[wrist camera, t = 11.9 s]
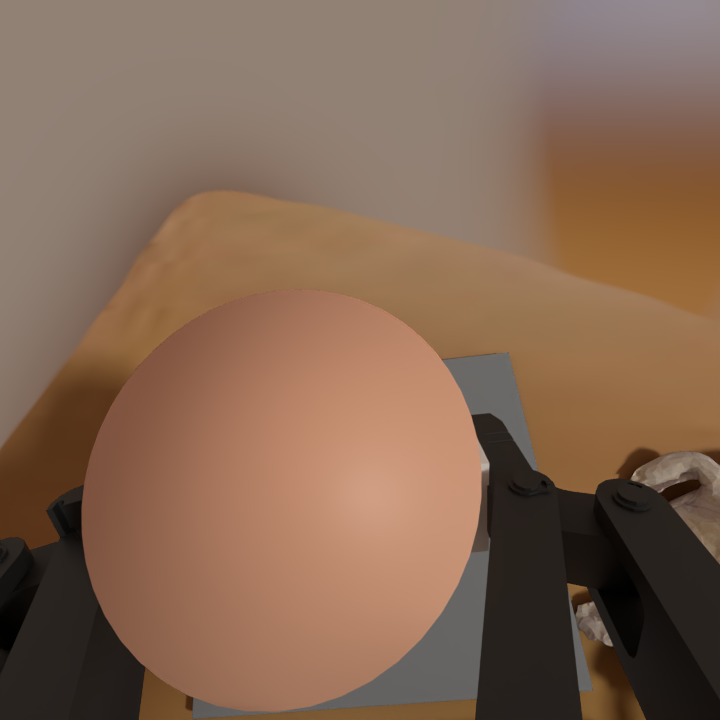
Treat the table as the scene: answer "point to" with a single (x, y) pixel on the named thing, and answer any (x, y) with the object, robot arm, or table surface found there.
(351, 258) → the table surface
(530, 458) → the mat
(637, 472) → the turtle
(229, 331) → the pink rounded cylinder
